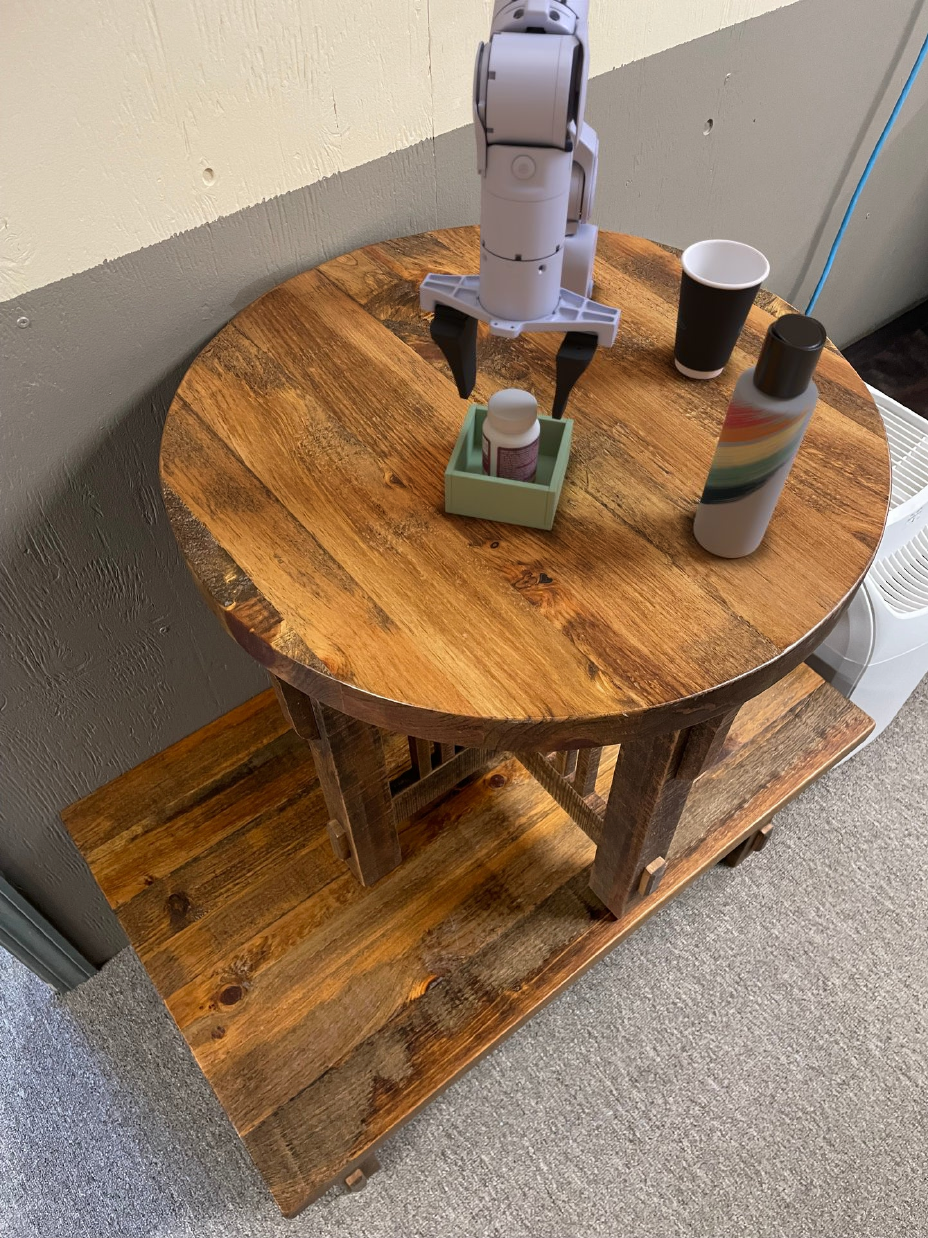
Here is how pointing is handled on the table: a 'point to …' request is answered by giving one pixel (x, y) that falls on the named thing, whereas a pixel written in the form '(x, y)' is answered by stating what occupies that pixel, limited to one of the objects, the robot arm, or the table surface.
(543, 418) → the sage green tray box
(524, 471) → the pill bottle
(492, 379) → the table surface
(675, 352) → the dixie cup
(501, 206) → the robot arm
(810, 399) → the lotion bottle
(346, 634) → the table surface
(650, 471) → the table surface
